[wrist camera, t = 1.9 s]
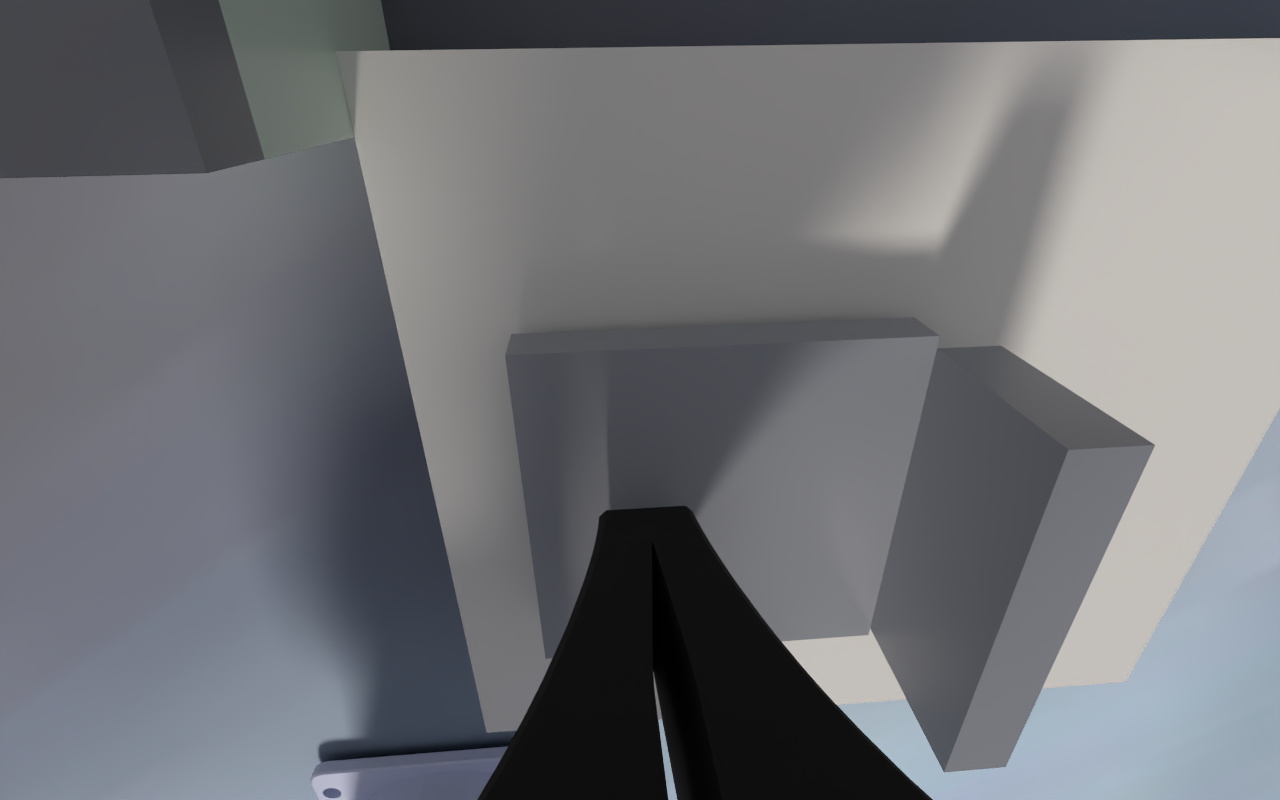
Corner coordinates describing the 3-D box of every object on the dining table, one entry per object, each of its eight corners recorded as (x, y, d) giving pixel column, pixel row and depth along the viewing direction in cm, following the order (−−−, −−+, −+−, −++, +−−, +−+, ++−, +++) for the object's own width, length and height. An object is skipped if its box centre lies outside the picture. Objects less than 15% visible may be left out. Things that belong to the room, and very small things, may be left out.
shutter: (899, 600, 13) (1001, 773, 10) (547, 626, 12) (533, 815, 9) (974, 314, 10) (1162, 429, 6) (511, 333, 9) (469, 467, 6)
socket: (1060, 608, 17) (1126, 681, 15) (500, 648, 16) (486, 733, 14) (1310, 44, 11) (1489, 34, 8) (390, 57, 10) (335, 50, 8)
